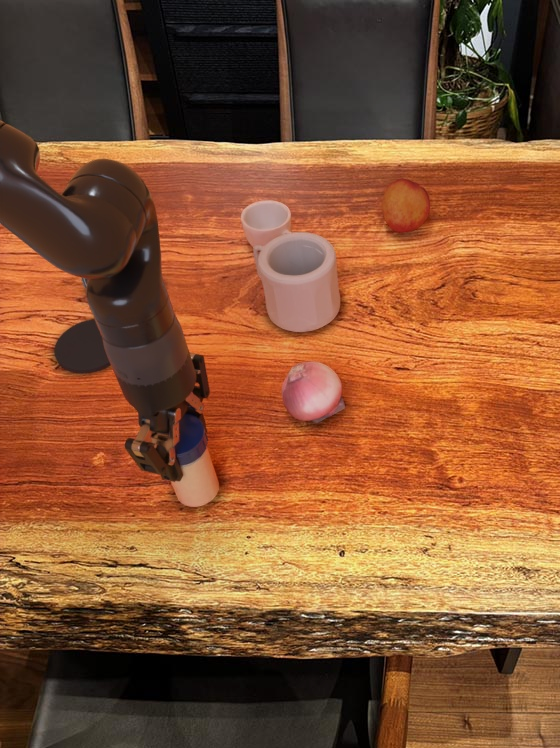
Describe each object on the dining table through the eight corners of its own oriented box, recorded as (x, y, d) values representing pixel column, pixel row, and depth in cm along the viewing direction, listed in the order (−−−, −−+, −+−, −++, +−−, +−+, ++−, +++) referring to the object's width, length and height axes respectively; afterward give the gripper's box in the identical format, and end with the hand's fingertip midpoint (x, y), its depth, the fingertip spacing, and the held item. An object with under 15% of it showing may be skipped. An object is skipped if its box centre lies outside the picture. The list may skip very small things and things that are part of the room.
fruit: (441, 224, 129) (442, 182, 123) (407, 248, 125) (407, 206, 119) (404, 204, 132) (404, 162, 126) (371, 227, 129) (368, 186, 123)
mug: (355, 299, 118) (351, 246, 110) (311, 344, 112) (303, 291, 104) (283, 267, 123) (274, 214, 115) (237, 309, 117) (225, 256, 110)
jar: (175, 510, 95) (155, 461, 87) (176, 474, 98) (156, 424, 91) (219, 503, 95) (203, 454, 88) (218, 467, 99) (202, 418, 91)
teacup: (235, 245, 127) (230, 217, 123) (270, 221, 131) (265, 193, 127) (280, 271, 122) (275, 243, 118) (315, 245, 126) (311, 217, 122)
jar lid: (212, 424, 92) (208, 413, 90) (202, 466, 88) (198, 455, 87) (162, 424, 92) (157, 412, 91) (150, 466, 89) (145, 454, 87)
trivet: (50, 377, 110) (48, 373, 109) (62, 325, 116) (60, 321, 116) (123, 370, 110) (122, 366, 109) (131, 319, 117) (130, 315, 116)
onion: (301, 379, 108) (295, 342, 102) (355, 393, 106) (351, 356, 100) (275, 423, 103) (267, 387, 97) (330, 439, 101) (326, 403, 95)
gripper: (149, 416, 74) (189, 514, 86) (214, 311, 83) (241, 414, 95) (78, 401, 75) (127, 499, 88) (149, 299, 84) (184, 401, 97)
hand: (186, 454), depth 92 cm, fingers closed on jar lid, 6 cm apart
